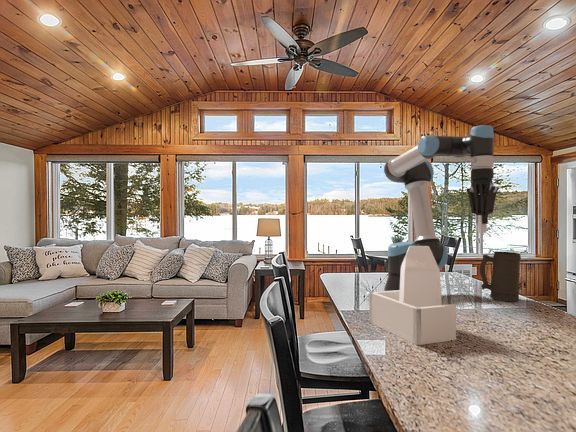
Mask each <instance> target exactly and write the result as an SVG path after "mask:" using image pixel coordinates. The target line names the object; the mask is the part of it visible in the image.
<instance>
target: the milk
mask: <svg viewBox="0 0 576 432" xmlns="http://www.w3.org/2000/svg"><path fill="white" fill-rule="evenodd" d="M441 279H442V278H441V271H440V269H439V268H438V265H437V263H436V261H435V258H434V256H433V254H432V252H431V250H430V247H429V246H409V248H408V251H407V253H406V255H405V258H404V260H403V262H402V265H401V271H400V293H399V301H400V302H403V303H406V304H409V305H412V306H415V307H428V306H438V305H443V304H442V303H443V301H442V284H441V282H442V281H441Z"/></svg>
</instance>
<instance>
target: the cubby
mask: <svg viewBox="0 0 576 432" xmlns="http://www.w3.org/2000/svg"><path fill="white" fill-rule="evenodd" d="M399 293H400V290H394V291H384V290H382V291H370V292H369V297H368V299H369V300H368V301H369V303H368V304H369V305H368V306H369V307H368V308H369V309H368V310H369V323H371V324H372V325H374V326H376V327H379V328H381V329H382V330H385V331H387V332H389V333H390V334H393V335H395V336H397V337H399V338H401V339H402V340H405V341H407V342H409V343H411V344H413V345H414V346H415V345H416V346H421V345H428V344H437V343H443V342H451V340H452V341H457V305H456V304H454V303H453V304H452V303H451V304H449V303H447V304H442V305H438V306H428V307H415V306H412V305H409V304H406V303H403V302H400V301H399Z"/></svg>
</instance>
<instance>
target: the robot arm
mask: <svg viewBox="0 0 576 432" xmlns="http://www.w3.org/2000/svg"><path fill="white" fill-rule="evenodd" d="M494 138H495V136H494V127H493V126H491V125H489V124H487V125H486V124H484V125H483V124H482V125H476V126H475V125H474V126H473V127H472V128H471V129H470V133H469V134H468V135H466V136H452V135H451V136H450V135H434V134H429V135H423V136H421V137H420V139H419V140H418V142H417V145H416V146H414V147H412V148H410V149H409V150H408V151H405V152H404V153H402V154H400V155H398V156H396V155H395V156H392V157H391V158H390V159H388V160H387V161H386V162H385V164H384V168H383V173H384V175H385V177H386V178H387V179H388V180H389V181H391V182H394V183H397V184H400V183H401V184H404V188H405V190H407V191H408V194H409V199H410V205H411V212H412V213H411V214H412V217H413V218H412V219H413V225H414V231H415V240H414V241H399V242H394V243H391V244H389V245H388V249H387V268H388V269H387V279H386V283H385V285H384V288H383V289H384V290H383V291H394V290H400V271H401V265H402V262H403V260H404V258H405V255H406V253H407V251H408V248H409V246H429V247H430V250H431V252H432V254H433V256H434V258H435V261H436V263H437V265H438V268H439V270H441V269H443V268H444V267H445V265H446V264H447V262H448V257H449V252H448V248H447V247H446V245H445V244H443V243H441V239H440V238H439V237H438V236H436V229H435V226H434V225H435V224H434V218H433V213H432V212H433V211H432V205H431V200H430V194H429V189H428V188H429V187H430V185H431V182H432V181H433V179H434V174H435V173H434V168H433V164H432V163H431V162H430V161H429V160H431V159H433V158H436V157H438V156H439V157H440V156H441V157H453V158H455V159H456V158H465V157H469V156H470V168H471V170H470V179H471V180H472V182H471V186H470V187H468V188H466V190H465V191H466V192H467V195H468V200H469V204H470V205H469V206H470V210H471V213H472V214H474V215H475V217H476V221H475V222H476V224H477V233H478V234H486V233H487V232H488V231H487V225H488V223H489V220H488V219H489V215H490V214H493V212H494V207H495V203H496V198H497V194H498V191H499V189H500V188H499V186H495V184H494V183H493V180H494V175H495V173H494V172H495V171H494V169H493V168H494V166H495V165H494V161H495V160H494V151H495V150H494V147H495V146H494V144H495V143H494V142H495V140H494Z"/></svg>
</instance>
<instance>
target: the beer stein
mask: <svg viewBox="0 0 576 432" xmlns="http://www.w3.org/2000/svg"><path fill="white" fill-rule="evenodd" d="M521 258H522V257H521V253H520V252H519V253H518V252H511V251H494V253H493V256H489V255H488V254H483V255H482V260H481V262H480V265H479V275H480V277H481V279H482V284H481V286H480V288H481V289H482V290H489V291H490V295H489V297H490V298H492V299H494V300H497V301H504V302H515V303H516V302H519V301H520V296H519V294H520V263H521ZM489 262H491V263H492V270H491V281H490V282H491V283H490V284H489V282H488V279H487V276H486V265H487V264H488V263H489Z"/></svg>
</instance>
